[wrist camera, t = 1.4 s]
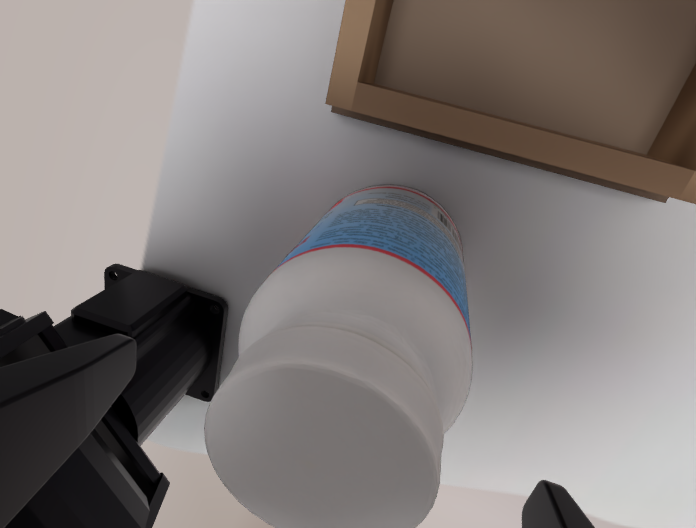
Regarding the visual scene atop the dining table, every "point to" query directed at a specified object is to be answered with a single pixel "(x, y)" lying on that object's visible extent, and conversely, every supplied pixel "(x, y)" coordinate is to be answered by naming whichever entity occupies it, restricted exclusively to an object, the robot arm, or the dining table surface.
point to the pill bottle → (349, 370)
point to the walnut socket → (533, 83)
